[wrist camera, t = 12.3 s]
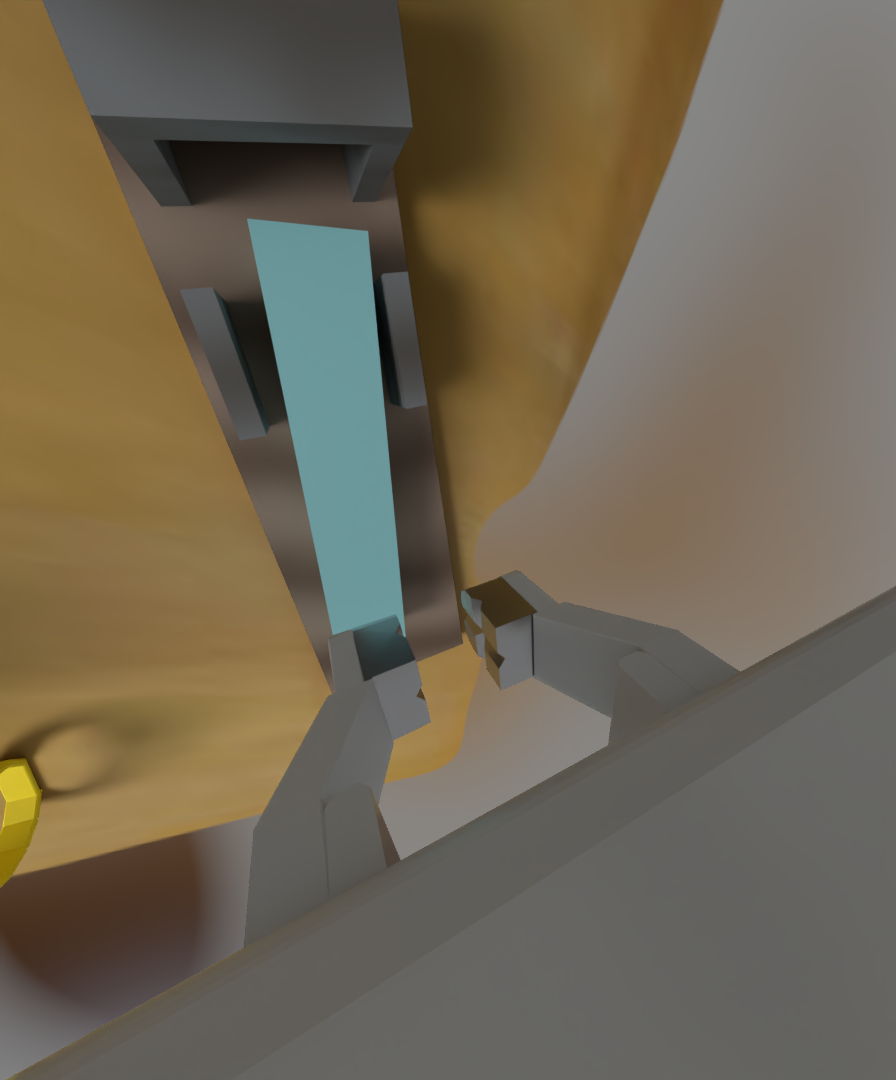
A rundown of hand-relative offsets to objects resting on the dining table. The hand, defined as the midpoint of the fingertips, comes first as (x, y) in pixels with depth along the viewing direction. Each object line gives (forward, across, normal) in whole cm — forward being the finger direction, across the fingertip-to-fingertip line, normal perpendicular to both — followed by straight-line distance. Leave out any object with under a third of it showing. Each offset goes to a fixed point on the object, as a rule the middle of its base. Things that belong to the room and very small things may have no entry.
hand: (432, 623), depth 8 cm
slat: (+13, 0, 0) cm, 13 cm away
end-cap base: (+14, 0, -2) cm, 14 cm away
